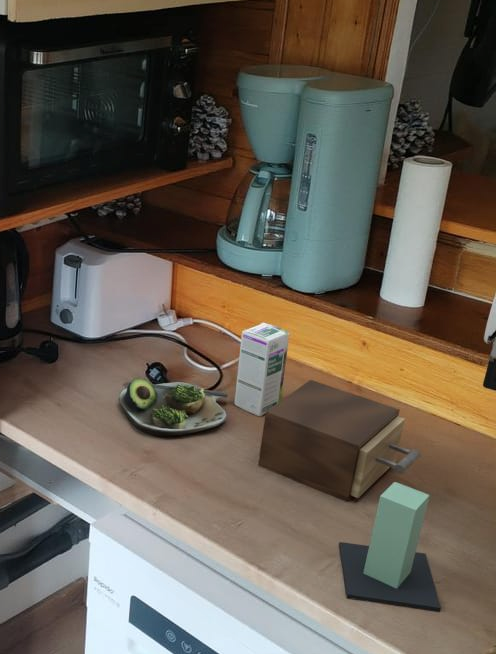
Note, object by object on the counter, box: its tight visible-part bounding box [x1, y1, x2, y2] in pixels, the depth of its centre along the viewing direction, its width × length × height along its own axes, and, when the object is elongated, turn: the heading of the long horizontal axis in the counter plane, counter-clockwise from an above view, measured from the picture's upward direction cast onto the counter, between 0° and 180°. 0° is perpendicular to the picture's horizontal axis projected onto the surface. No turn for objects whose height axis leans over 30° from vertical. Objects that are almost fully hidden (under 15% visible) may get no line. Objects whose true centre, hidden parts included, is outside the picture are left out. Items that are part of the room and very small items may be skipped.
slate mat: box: [338, 541, 442, 612], centre depth 117 cm, size 11×11×1 cm
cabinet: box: [257, 379, 400, 503], centre depth 139 cm, size 15×15×10 cm
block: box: [364, 481, 430, 589], centre depth 114 cm, size 4×4×12 cm
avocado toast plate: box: [118, 378, 229, 437], centre depth 155 cm, size 19×18×5 cm
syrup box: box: [233, 322, 291, 417], centre depth 155 cm, size 6×6×14 cm
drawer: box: [351, 415, 421, 499], centre depth 137 cm, size 18×13×8 cm
